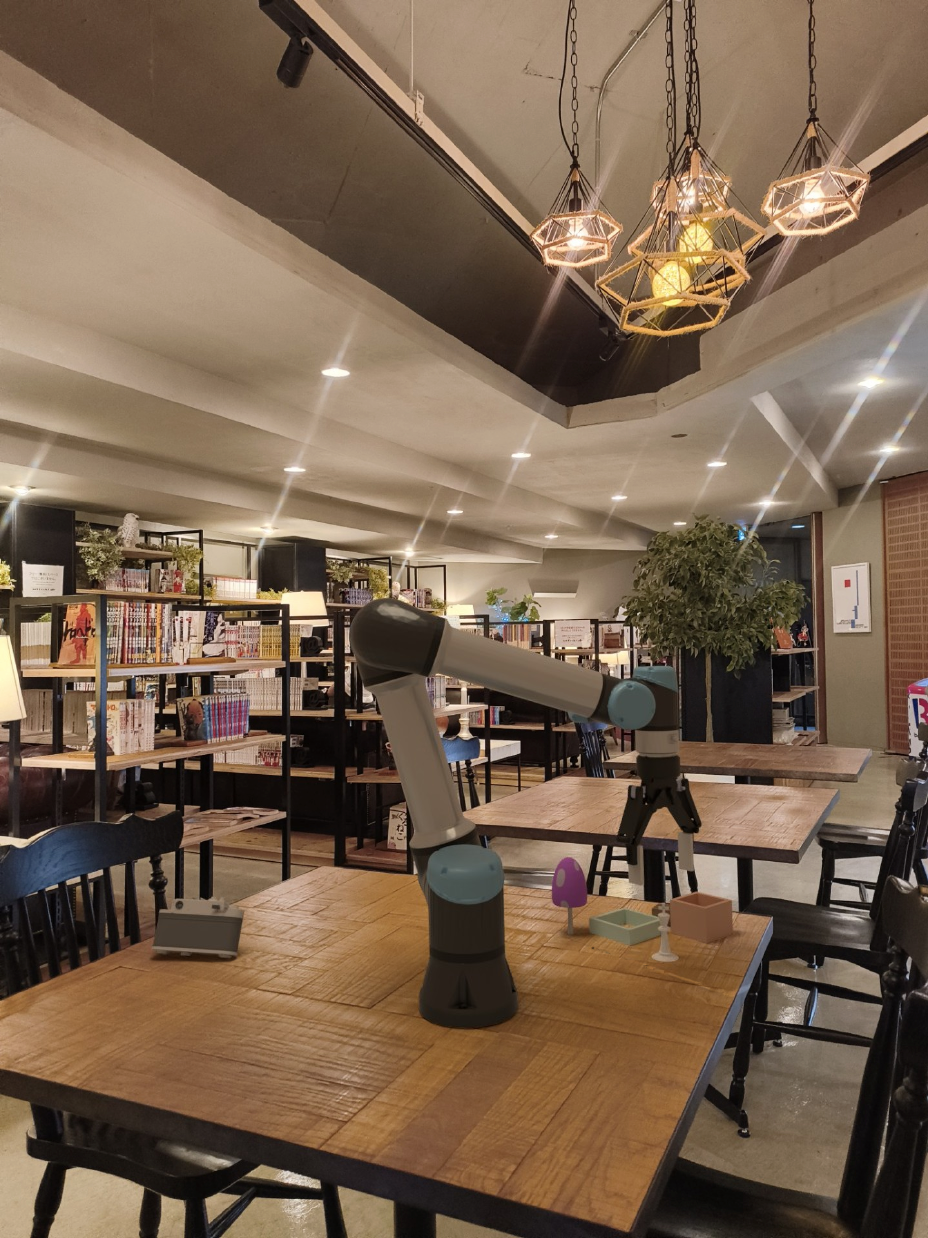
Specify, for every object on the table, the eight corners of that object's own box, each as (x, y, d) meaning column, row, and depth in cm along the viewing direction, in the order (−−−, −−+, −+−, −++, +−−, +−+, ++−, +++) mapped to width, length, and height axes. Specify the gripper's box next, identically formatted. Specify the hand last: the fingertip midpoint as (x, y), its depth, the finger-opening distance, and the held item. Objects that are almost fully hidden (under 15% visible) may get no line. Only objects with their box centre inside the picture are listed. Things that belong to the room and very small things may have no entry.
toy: (590, 943, 162) (588, 861, 162) (554, 944, 162) (552, 862, 162) (586, 931, 168) (584, 853, 169) (551, 932, 169) (549, 853, 169)
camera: (230, 957, 155) (241, 897, 160) (145, 951, 157) (158, 892, 162) (247, 962, 163) (257, 904, 168) (166, 956, 165) (178, 900, 170)
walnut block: (672, 932, 167) (671, 911, 167) (652, 929, 169) (651, 908, 169) (679, 926, 171) (678, 906, 171) (659, 923, 173) (658, 903, 173)
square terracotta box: (706, 948, 158) (705, 908, 158) (671, 937, 164) (669, 899, 164) (733, 938, 163) (731, 900, 163) (697, 928, 169) (696, 891, 169)
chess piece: (680, 967, 148) (678, 908, 149) (650, 966, 149) (649, 907, 150) (679, 957, 153) (677, 899, 154) (650, 956, 154) (648, 899, 155)
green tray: (629, 950, 158) (629, 930, 158) (589, 936, 165) (589, 918, 166) (665, 937, 164) (665, 919, 164) (625, 925, 172) (624, 907, 172)
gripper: (626, 762, 142) (631, 894, 141) (718, 749, 158) (723, 868, 157) (592, 759, 148) (596, 885, 147) (684, 746, 164) (688, 861, 163)
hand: (662, 876), depth 152 cm, fingers open, 13 cm apart
